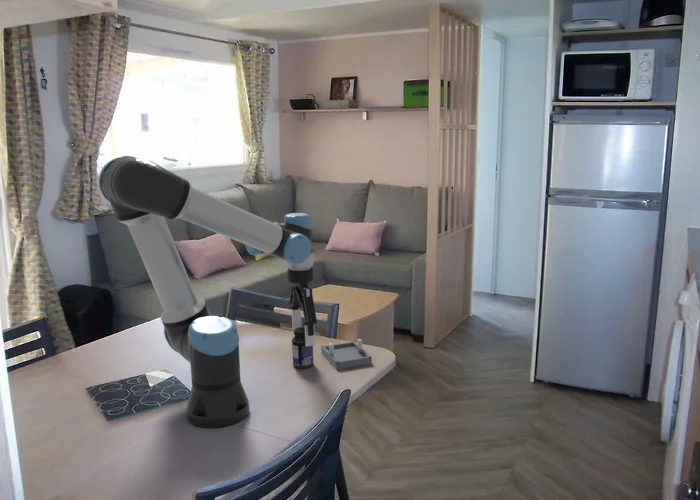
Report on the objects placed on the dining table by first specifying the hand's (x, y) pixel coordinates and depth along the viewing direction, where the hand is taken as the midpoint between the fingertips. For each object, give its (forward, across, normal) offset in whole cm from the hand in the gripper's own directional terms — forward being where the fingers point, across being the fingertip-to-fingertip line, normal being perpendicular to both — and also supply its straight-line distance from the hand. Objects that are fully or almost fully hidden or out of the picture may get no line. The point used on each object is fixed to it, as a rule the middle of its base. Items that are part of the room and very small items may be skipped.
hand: (303, 337), depth 175 cm
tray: (+9, 0, -13) cm, 16 cm away
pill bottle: (+9, 0, +1) cm, 9 cm away
